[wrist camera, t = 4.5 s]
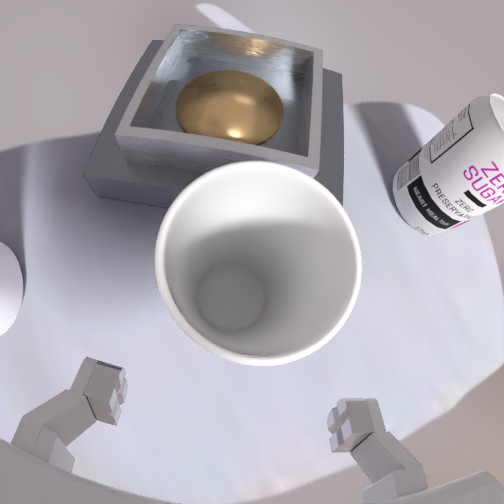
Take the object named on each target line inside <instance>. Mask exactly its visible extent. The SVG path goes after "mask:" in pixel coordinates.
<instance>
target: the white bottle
mask: <svg viewBox="0 0 504 504" xmlns="http://www.w3.org/2000/svg"><path fill="white" fill-rule="evenodd" d="M22 299H23V278H22V273H21V269H20V265H19V262H18V260H17V258H16V256H15V254H14V253H13V251H12V250H11V249H10V248H9V247H8V246H7V245H5V244H3V243H1V242H0V335H1V334H3V333H5V332H6V331H7V330H8V329H9V328H10V327H11V325H12V324H13V322H14V321H15V319H16V317H17V315H18V313H19V311H20V308H21V304H22Z"/></svg>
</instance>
